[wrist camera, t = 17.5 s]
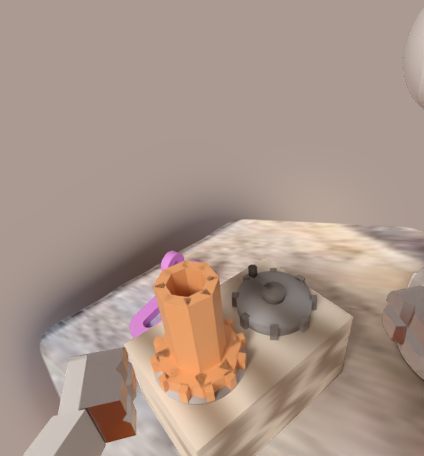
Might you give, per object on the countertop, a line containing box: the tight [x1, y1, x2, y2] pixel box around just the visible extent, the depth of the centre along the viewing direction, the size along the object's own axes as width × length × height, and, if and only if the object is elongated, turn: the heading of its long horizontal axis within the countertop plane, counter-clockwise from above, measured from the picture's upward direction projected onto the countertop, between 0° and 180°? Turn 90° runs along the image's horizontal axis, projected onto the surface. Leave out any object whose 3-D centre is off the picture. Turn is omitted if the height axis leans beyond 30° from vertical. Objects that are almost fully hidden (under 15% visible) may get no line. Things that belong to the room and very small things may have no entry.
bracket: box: [130, 251, 202, 339], centre depth 50 cm, size 13×6×7 cm, turn 144°
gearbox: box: [124, 258, 353, 456], centre depth 38 cm, size 20×13×14 cm, turn 127°
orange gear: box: [150, 261, 247, 403], centre depth 31 cm, size 9×9×10 cm
